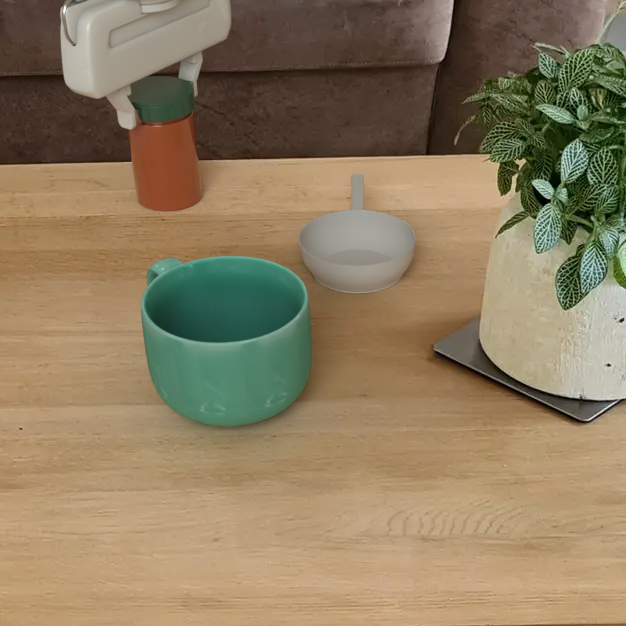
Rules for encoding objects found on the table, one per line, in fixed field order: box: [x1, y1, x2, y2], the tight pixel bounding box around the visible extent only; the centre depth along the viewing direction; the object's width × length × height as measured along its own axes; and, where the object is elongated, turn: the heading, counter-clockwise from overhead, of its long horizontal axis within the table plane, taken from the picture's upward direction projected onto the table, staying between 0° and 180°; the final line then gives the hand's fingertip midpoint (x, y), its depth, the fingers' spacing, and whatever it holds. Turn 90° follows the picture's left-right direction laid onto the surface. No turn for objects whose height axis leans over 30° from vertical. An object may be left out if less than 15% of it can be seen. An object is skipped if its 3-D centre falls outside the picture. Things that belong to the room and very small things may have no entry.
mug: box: [140, 255, 313, 427], centre depth 91 cm, size 17×13×10 cm
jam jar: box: [126, 110, 204, 212], centre depth 117 cm, size 7×7×11 cm
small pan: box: [297, 173, 417, 294], centre depth 111 cm, size 11×18×4 cm, turn 3°
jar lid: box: [127, 75, 196, 122], centre depth 113 cm, size 7×7×2 cm
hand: (160, 111), depth 114 cm, fingers closed on jar lid, 7 cm apart
